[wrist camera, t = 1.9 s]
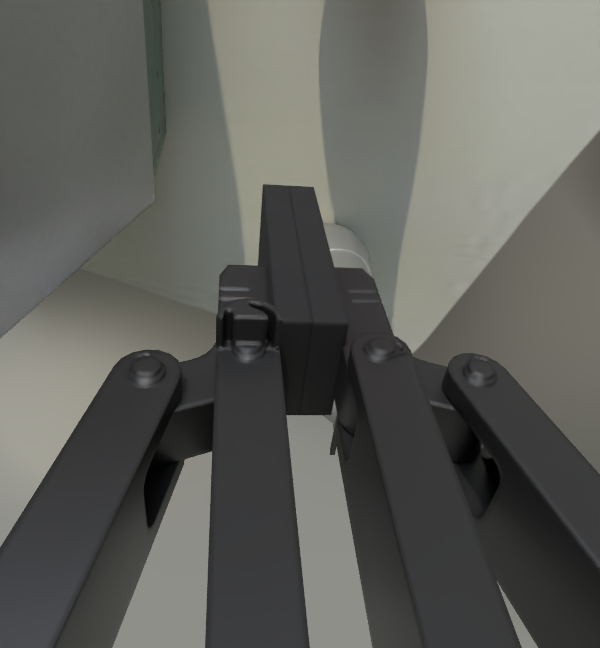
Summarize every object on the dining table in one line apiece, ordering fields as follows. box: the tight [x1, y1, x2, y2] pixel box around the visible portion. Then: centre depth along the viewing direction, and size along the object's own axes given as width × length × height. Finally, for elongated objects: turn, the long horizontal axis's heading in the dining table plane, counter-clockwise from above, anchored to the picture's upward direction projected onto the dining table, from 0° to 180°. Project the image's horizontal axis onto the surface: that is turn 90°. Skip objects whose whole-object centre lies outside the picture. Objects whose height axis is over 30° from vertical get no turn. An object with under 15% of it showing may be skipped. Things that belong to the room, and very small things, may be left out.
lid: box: [0, 0, 155, 338], centre depth 20 cm, size 15×12×1 cm
